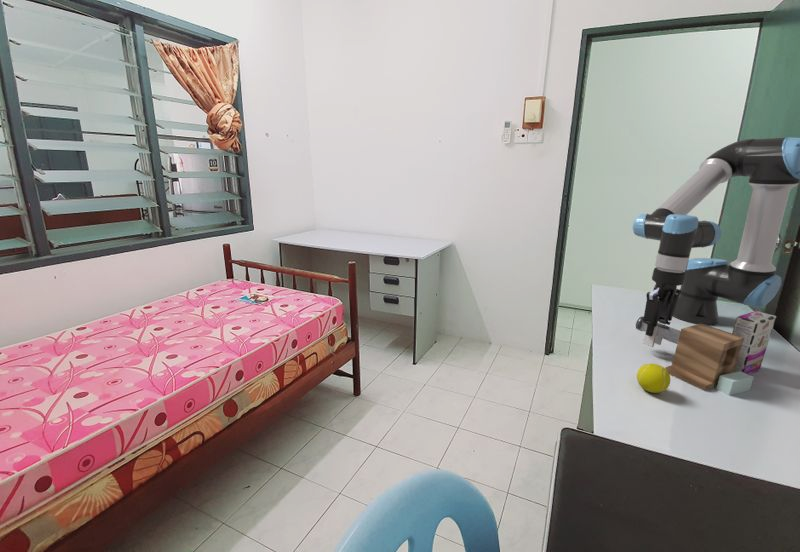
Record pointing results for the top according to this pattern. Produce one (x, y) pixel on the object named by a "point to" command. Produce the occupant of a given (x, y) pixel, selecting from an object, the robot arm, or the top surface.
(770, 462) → the top surface
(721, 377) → the block
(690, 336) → the bearing block
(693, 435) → the top surface
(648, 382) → the tennis ball
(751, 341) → the candy bar box
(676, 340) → the shaft
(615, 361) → the top surface
